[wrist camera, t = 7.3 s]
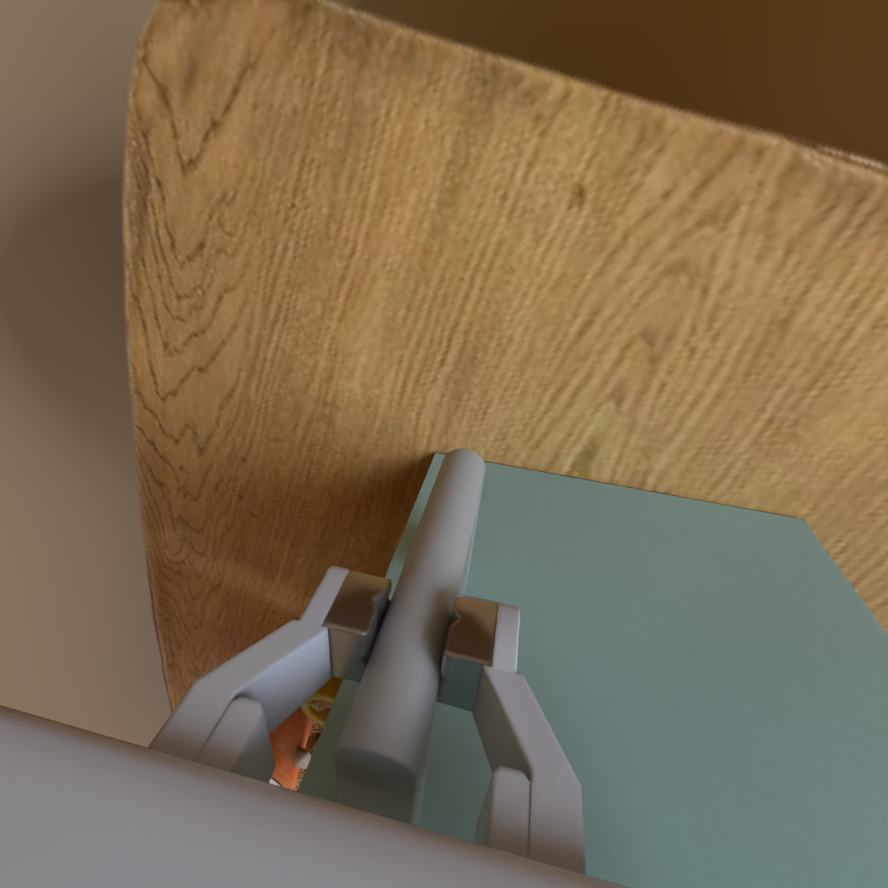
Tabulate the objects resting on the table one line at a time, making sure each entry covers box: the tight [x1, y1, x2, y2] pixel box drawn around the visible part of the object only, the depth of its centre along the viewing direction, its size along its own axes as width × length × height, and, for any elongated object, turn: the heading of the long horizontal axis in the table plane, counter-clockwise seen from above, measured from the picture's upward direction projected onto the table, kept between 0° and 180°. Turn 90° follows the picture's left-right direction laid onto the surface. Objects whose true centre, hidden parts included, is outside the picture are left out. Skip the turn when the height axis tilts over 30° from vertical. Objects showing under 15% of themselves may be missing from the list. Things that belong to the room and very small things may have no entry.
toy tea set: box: [269, 676, 343, 790], centre depth 40 cm, size 26×16×10 cm, turn 143°
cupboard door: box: [297, 448, 888, 888], centre depth 15 cm, size 7×20×22 cm, turn 86°
